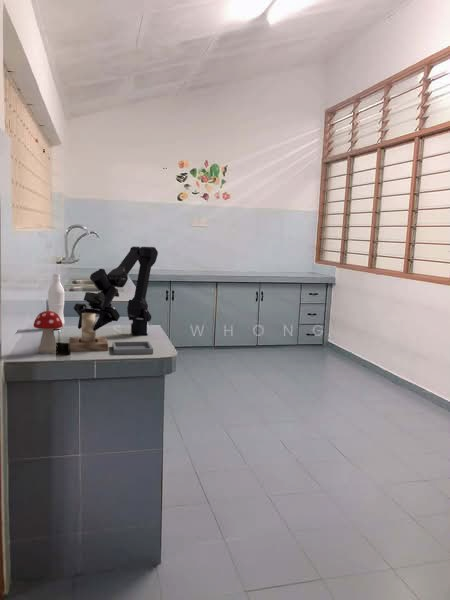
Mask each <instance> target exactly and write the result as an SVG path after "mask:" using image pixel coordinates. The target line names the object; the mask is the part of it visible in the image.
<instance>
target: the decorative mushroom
mask: <svg viewBox="0 0 450 600" xmlns="http://www.w3.org/2000/svg"><path fill="white" fill-rule="evenodd" d="M62 326H63V324H62V321H61V319H60V317H59V315H58V314H56V313H55V312H52V311H49V310H45V311H42V312H40V313H39V314H38V315H37V316H36V317H35V320H34V323H33V328H35V329H38V330H42V335H41V338H40V343H39V346H38V348H37V349H38V353H39V354H46V355H49V354H56V353H57V352H56V346H57V347H58V345H57V341H56V337H55V333H54V330H57V328H60V327H62ZM53 329H54V330H53Z"/></svg>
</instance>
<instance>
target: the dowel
mask: <svg viewBox="0 0 450 600" xmlns="http://www.w3.org/2000/svg"><path fill="white" fill-rule="evenodd" d="M96 315H97V314H96V313H82V328H81V337H82V342H95V337H96V331H94V330H93V328H94V325H95V324H96Z"/></svg>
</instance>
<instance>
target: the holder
mask: <svg viewBox="0 0 450 600" xmlns="http://www.w3.org/2000/svg"><path fill="white" fill-rule="evenodd" d="M69 344H70V350H71V351H70V352H99V351H101V352H103V351H104V352H107V351H108V350H109V342H108V338H107V336H95V342H82V336H80V337H79V336H78V337H77V336H73V337H72V336H71V337H69V340H68V345H69Z"/></svg>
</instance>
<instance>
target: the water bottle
mask: <svg viewBox="0 0 450 600" xmlns="http://www.w3.org/2000/svg"><path fill="white" fill-rule="evenodd" d="M47 298H48V299H47V307H48V311H52V312H55V313H56V314H58V315H59V317H60V319H61V321H62V324H63V326H62V327H60V328H57V329H60V330H62V329H63V328H64V327H65V323H66V322H65V316H64V309H65V308H64V307H65V289H64V286H63V285H62V283H61V274H60V273H52V281H51V284H50V285H49V287H48V291H47ZM57 329H56V330H57Z"/></svg>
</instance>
